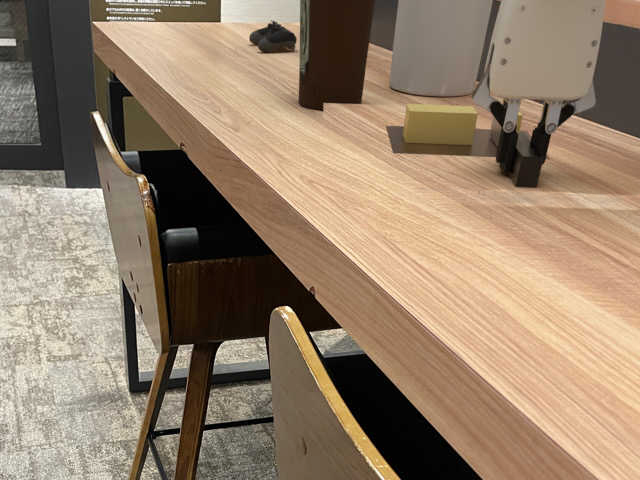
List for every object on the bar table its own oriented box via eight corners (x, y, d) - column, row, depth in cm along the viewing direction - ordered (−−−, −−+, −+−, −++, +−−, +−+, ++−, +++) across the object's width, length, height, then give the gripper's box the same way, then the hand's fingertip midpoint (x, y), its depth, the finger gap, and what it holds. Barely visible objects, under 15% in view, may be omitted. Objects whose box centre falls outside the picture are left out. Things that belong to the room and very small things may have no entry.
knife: (536, 188, 85) (544, 157, 83) (515, 187, 85) (522, 156, 83) (500, 135, 102) (505, 109, 100) (482, 135, 102) (487, 108, 100)
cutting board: (524, 143, 106) (526, 130, 105) (547, 172, 95) (550, 158, 94) (384, 137, 107) (385, 125, 106) (391, 166, 96) (393, 152, 95)
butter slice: (510, 139, 101) (516, 107, 99) (516, 147, 98) (523, 114, 96) (493, 138, 101) (499, 107, 99) (499, 146, 98) (505, 114, 96)
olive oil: (364, 98, 127) (384, -107, 111) (366, 113, 118) (388, -107, 103) (295, 95, 127) (306, -109, 112) (292, 110, 119) (304, -108, 103)
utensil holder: (487, 85, 137) (510, -43, 126) (467, 101, 126) (491, -37, 115) (401, 77, 141) (417, -47, 130) (375, 92, 131) (390, -42, 120)
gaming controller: (247, 41, 168) (253, 13, 165) (281, 51, 170) (288, 23, 167) (257, 51, 159) (264, 21, 156) (294, 61, 161) (301, 32, 158)
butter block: (467, 137, 101) (473, 106, 99) (472, 145, 98) (478, 113, 96) (402, 135, 102) (406, 103, 100) (405, 142, 99) (409, 110, 97)
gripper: (636, -37, 80) (583, 164, 91) (470, -41, 80) (439, 159, 92) (661, -31, 74) (602, 183, 85) (482, -36, 75) (447, 177, 86)
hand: (517, 169), depth 88 cm, fingers closed on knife, 2 cm apart
